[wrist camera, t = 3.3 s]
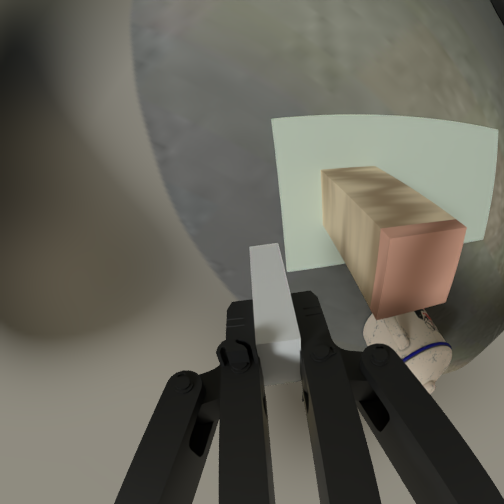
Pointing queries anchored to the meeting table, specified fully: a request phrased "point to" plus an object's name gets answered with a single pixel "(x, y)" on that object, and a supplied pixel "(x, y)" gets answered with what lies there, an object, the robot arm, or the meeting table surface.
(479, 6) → the meeting table surface
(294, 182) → the rubber mat
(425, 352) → the teacup with lid
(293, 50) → the meeting table surface
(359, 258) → the oak block
